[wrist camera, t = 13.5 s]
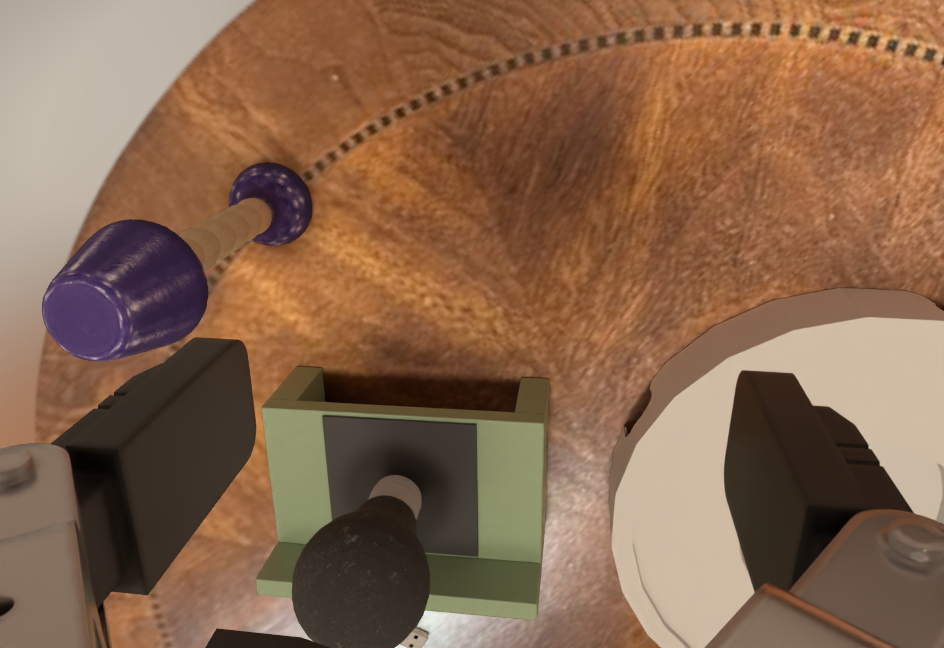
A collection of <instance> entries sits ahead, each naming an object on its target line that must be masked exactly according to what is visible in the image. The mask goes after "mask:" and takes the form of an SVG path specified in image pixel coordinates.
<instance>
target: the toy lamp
mask: <svg viewBox="0 0 944 648" xmlns="http://www.w3.org/2000/svg"><path fill="white" fill-rule="evenodd" d="M311 215H312V203H311V198H310V195H309V192H308V189H307V187H306V186H305V184H304V183H303V181H302V180H301V179H300V178H299V177H298V176H297V175H296V174H295V173H294V172H292V171H291V170H290V169H288V168H286V167H284V166H281V165H278V164H275V163H259V164H256V165H253V166H251V167H249V168H247V169H245V170H244V171H243V172H242V173H241V174H240V175H239V176H238V177H237V178H236V180H235V181H234V183H233V185H232V188H231V191H230V195H229V207H228V208H227V209H226V210H225V211H222V212H219V213H216V214H214V215H213V216H212V217H210V218H209V219H206V220H202V221H200V222H198V223H197V224H196V225H195V226H194V227H193V228H189V229H186V230H184V231H182V232H181V233H179V234H178V235H177V234H176V233H175V232H173V231H171V230H170V229H168V228H167V227H165V226H162V225H160V224H157V223H154V222H150V221H145V220H131V219H130V220H122V221H118V222H114V223H111V224H109V225H107V226H105V227H103V228H101V229H100V230H98V231H97V232H96V233H95V234H93V235H92V236H91V237H90V238H89V239H88V240H87V241H86V242H85V243H84V244H83V245H82V247H81V248H80V249H79V250H78V251H77V252H76V253H75V254H74V256H73V257H72V258H71V259H70V260H69V261H68V263H67V264H66V265H65V266H64V267H63V268H62V270H61V271H60V272H59V273H58V274H57V275H56V277H55V278H54V279H53V280H52V282H51V283H50V285H49V286H48V288H47V290H46V292H45V295H44V297H43V302H42V315H43V320H44V323H45V326H46V328H47V330H48V332H49V334H50V335H51V336H52V338H53V339H54V341H55V342H56V343H57V344H58V345H59V346H60V347H61V348H62V349H64V350H65V351H67V352H68V353H70V354H72V355H74V356H76V357H78V358H81V359H84V360H89V361H95V362H100V361H110V360H116V359H120V358H123V357H127V356H131V355H135V354H138V353H142V352H146V351H149V350H152V349H156V348H159V347H163V346H166V345H169V344H172V343H175V342H177V341H179V340H181V339H182V338H184V337H185V336H187V335H188V334H189V333H191V332H192V331H193V330H194V328H195V327H196V326H197V325H198V324H199V322H200V320H201V319H202V317H203V315H204V313H205V310H206V307H207V299H208V285H207V278H206V275H205V273H204V270H207V269H209V268H210V267H211V266H213V265H214V264H215V263H216V261H218V260H221V259H224V258H225V257H227V256H228V255H229V254H230V253H231V252H233V251H235V250H238V249H239V248H241V247H242V246H243V245H244V244H245V242H249V241H251V240H253V241H254V242H257V243H260V244H264V245H270V246H277V245H283V244H287V243H290V242H292V241H294V240H295V239H297V238H299V237H300V236H301V235H302V234H303V232H304V231H305V230H306V228H307V227H308V224H309V221H310V219H311Z"/></svg>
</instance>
